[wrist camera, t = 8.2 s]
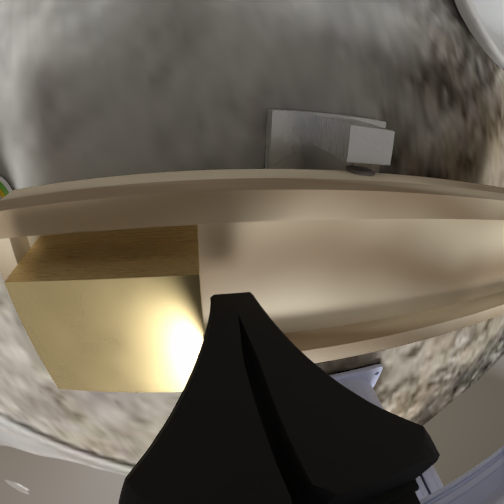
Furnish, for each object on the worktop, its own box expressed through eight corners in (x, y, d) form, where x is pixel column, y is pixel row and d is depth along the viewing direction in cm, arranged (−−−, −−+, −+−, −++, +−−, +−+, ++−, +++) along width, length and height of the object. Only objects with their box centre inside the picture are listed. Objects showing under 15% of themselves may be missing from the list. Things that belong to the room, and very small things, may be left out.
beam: (486, 289, 18) (509, 312, 16) (65, 332, 14) (51, 375, 11) (521, 187, 14) (552, 205, 12) (19, 182, 10) (-19, 210, 7)
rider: (204, 333, 13) (209, 390, 10) (74, 336, 12) (58, 388, 9) (197, 225, 10) (199, 274, 8) (40, 235, 9) (4, 282, 7)
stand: (343, 301, 21) (373, 348, 17) (257, 310, 20) (273, 366, 16) (376, 119, 15) (431, 135, 11) (267, 108, 14) (298, 117, 10)
